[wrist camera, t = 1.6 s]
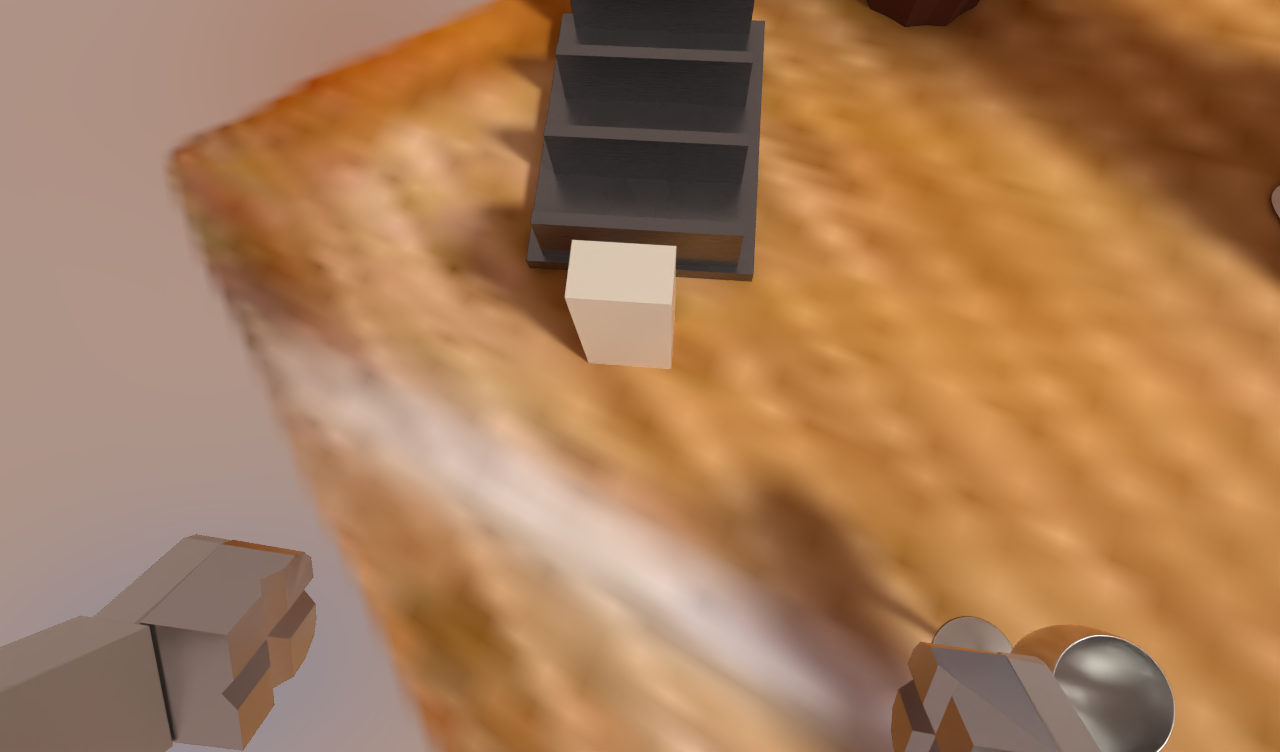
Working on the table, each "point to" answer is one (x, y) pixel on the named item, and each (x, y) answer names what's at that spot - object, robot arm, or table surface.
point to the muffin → (922, 10)
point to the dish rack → (654, 134)
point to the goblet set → (1089, 678)
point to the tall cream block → (623, 302)
